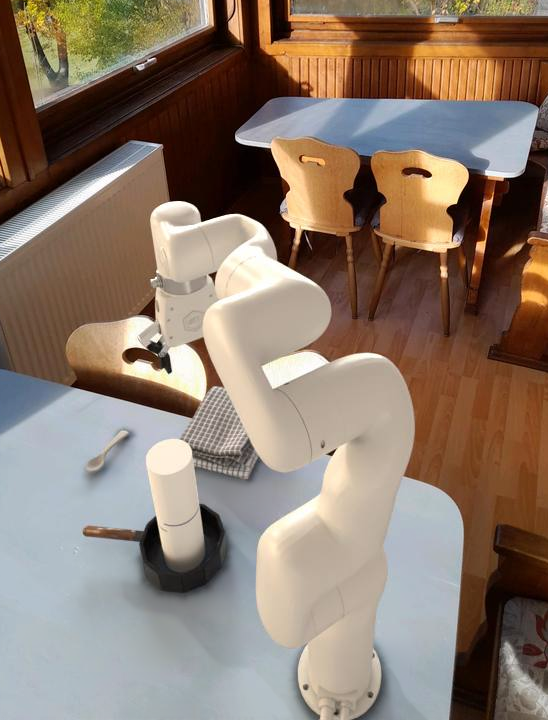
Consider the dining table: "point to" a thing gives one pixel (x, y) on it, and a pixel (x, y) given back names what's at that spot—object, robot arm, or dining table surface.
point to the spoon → (105, 453)
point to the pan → (152, 546)
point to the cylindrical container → (176, 503)
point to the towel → (220, 437)
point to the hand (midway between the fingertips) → (193, 358)
